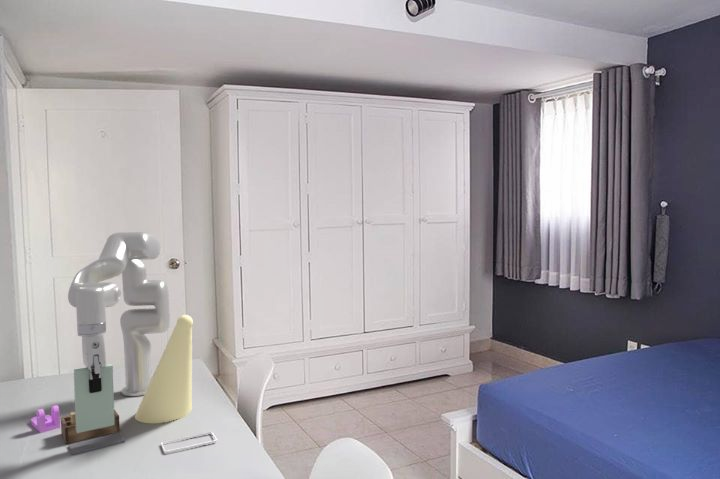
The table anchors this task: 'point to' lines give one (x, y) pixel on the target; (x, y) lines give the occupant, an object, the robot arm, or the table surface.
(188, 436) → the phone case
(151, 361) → the robot arm
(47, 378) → the table surface
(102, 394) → the green board
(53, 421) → the bracket
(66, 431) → the walnut rack
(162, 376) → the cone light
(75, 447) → the charcoal mat
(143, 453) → the table surface
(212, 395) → the table surface
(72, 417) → the oak offcut
